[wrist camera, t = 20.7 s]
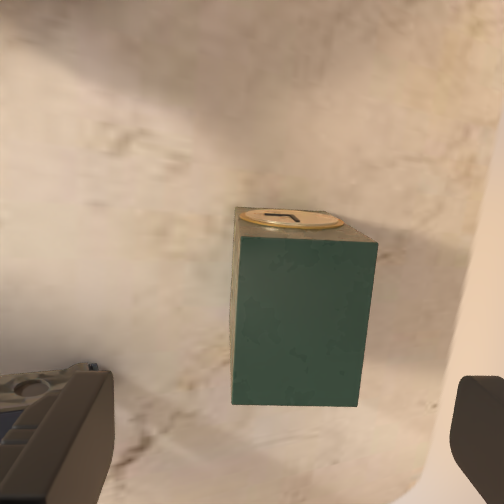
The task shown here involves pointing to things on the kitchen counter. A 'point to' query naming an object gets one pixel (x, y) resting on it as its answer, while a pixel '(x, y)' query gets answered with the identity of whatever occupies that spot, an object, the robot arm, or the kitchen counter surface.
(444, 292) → the kitchen counter surface
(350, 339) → the clock
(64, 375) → the handgun
